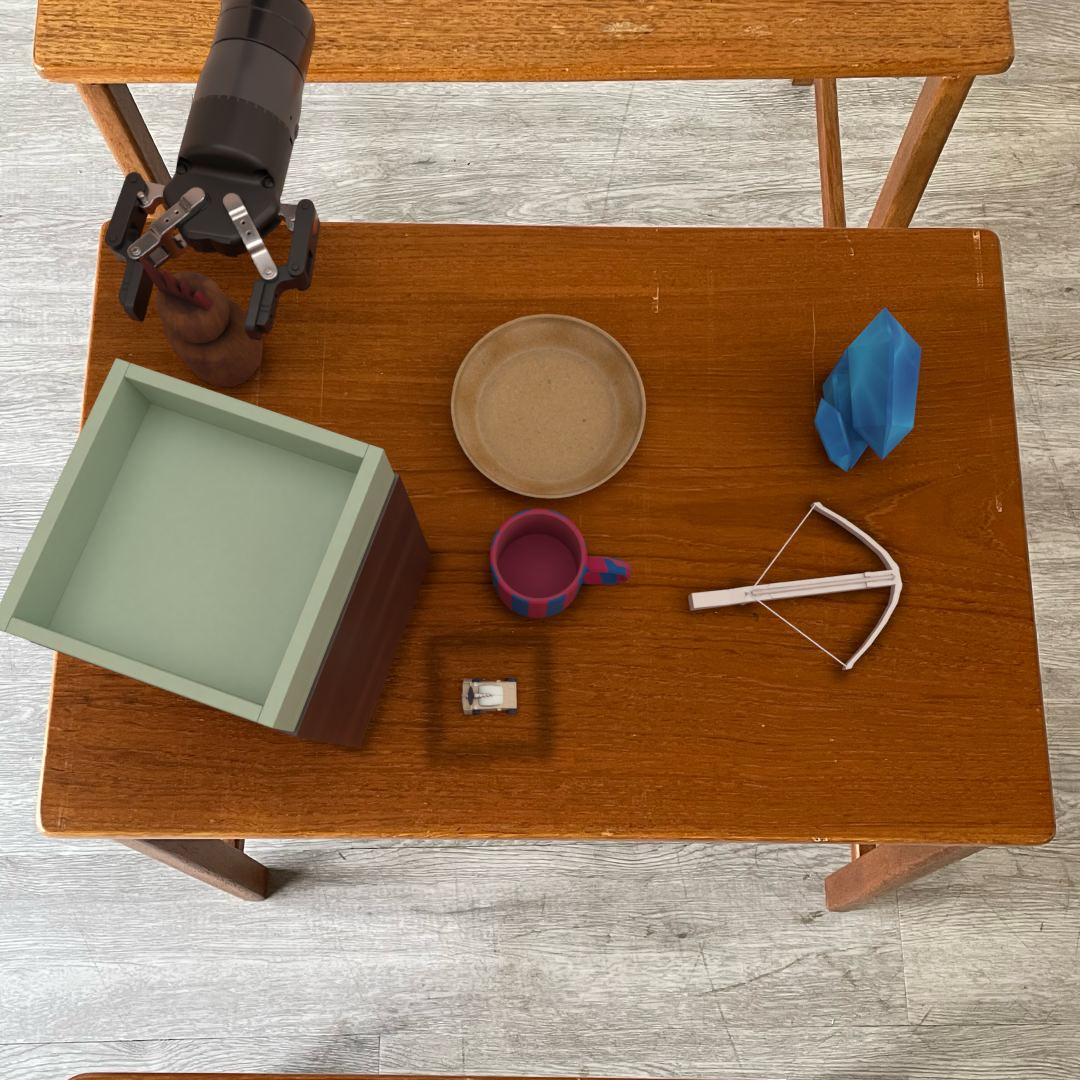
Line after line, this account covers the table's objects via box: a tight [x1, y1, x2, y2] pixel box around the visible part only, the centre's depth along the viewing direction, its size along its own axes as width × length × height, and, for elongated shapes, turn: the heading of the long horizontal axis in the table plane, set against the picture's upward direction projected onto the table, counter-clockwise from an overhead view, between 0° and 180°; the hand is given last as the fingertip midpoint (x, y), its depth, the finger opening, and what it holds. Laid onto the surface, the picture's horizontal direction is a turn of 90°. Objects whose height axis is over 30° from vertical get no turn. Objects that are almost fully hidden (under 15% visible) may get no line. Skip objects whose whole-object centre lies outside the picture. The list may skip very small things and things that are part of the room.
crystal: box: [813, 306, 922, 472], centre depth 78 cm, size 7×9×12 cm
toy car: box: [460, 676, 519, 716], centre depth 75 cm, size 3×4×2 cm, turn 92°
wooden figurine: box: [139, 256, 264, 388], centre depth 74 cm, size 7×6×15 cm
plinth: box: [29, 471, 433, 749], centre depth 66 cm, size 15×15×22 cm
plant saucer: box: [450, 313, 647, 499], centre depth 80 cm, size 15×15×3 cm
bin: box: [0, 358, 394, 732], centre depth 53 cm, size 15×15×5 cm
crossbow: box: [687, 501, 904, 671], centre depth 77 cm, size 16×13×2 cm
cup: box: [489, 508, 632, 619], centre depth 75 cm, size 7×10×7 cm
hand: (192, 326), depth 73 cm, fingers open, 8 cm apart
